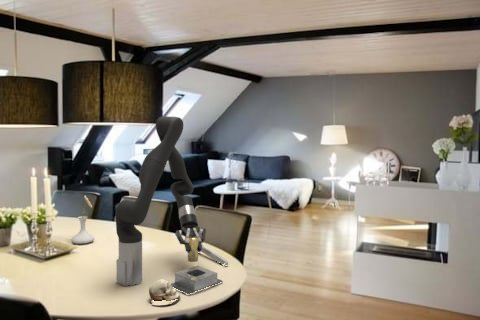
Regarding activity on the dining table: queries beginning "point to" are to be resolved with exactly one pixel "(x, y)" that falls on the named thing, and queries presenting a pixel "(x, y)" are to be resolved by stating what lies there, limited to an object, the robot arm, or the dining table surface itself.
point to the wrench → (213, 255)
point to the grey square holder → (194, 279)
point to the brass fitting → (193, 249)
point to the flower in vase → (83, 228)
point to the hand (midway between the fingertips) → (194, 251)
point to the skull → (163, 291)
